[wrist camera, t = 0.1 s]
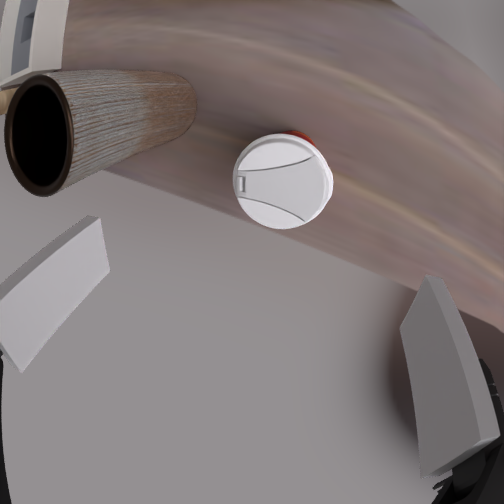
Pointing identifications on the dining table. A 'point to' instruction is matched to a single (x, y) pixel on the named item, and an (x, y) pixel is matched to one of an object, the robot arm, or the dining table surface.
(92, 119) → the planter
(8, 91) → the dowel
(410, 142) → the dining table surface
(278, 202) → the coffee cup
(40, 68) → the box
